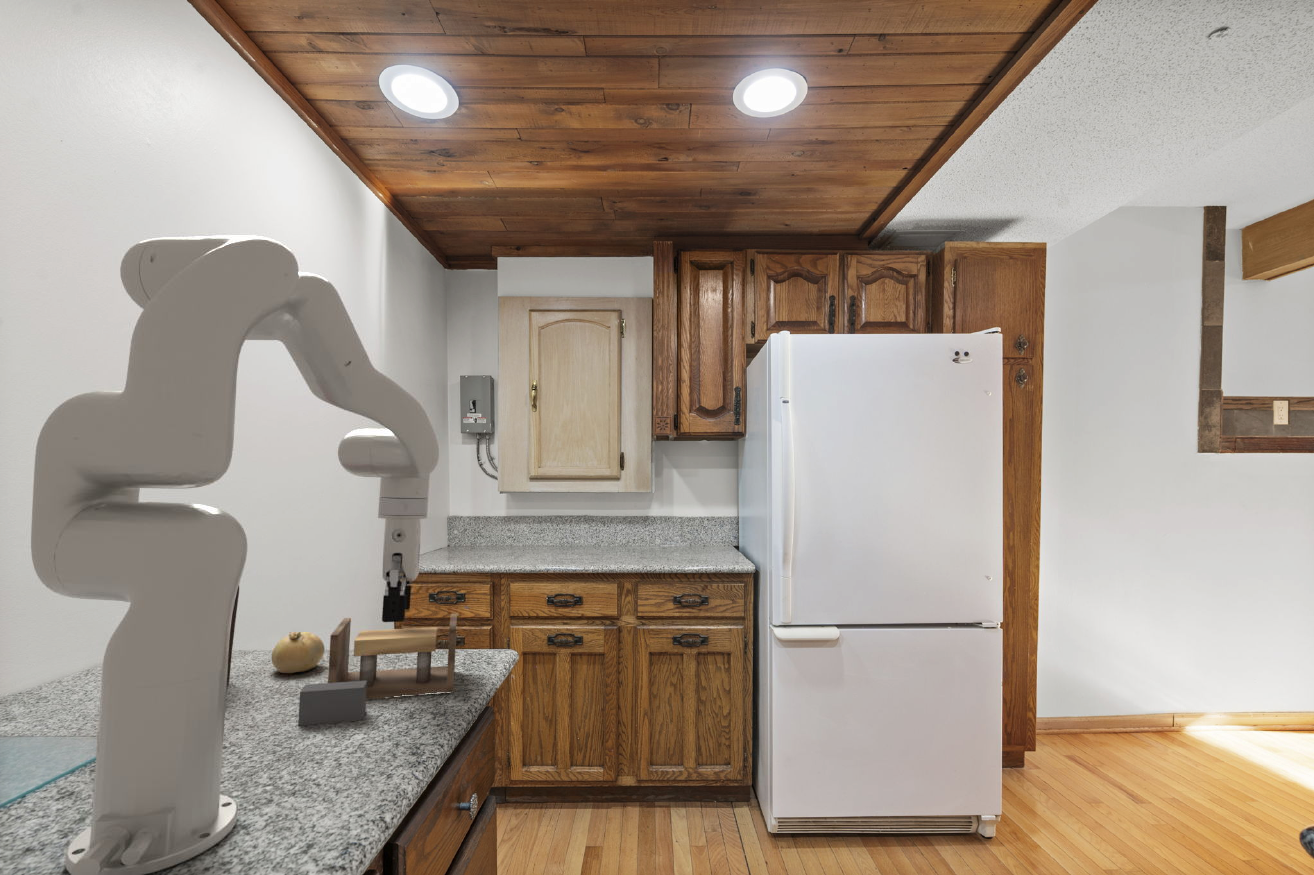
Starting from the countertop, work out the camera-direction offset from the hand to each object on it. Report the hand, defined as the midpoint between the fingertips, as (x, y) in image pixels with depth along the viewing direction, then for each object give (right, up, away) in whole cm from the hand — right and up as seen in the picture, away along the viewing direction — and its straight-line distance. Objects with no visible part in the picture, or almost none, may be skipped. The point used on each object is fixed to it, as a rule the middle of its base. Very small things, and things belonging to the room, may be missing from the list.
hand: (396, 615), depth 101 cm
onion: (-20, -12, +7) cm, 24 cm away
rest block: (-3, -11, -13) cm, 17 cm away
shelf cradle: (0, -12, 0) cm, 12 cm away
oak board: (0, -6, 0) cm, 6 cm away
